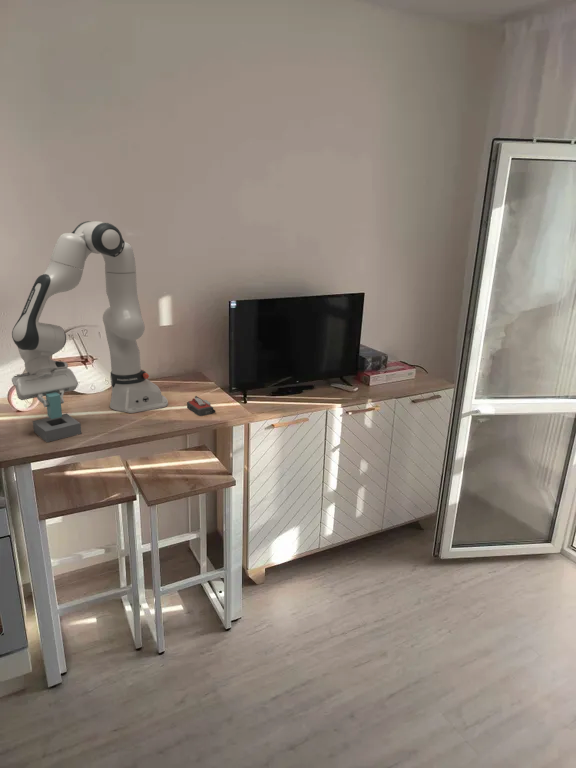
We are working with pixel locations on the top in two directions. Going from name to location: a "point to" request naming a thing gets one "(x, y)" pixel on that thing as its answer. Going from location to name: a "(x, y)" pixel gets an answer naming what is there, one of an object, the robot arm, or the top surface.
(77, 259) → the robot arm
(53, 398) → the plug
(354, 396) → the top surface
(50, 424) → the socket
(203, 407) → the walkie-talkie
